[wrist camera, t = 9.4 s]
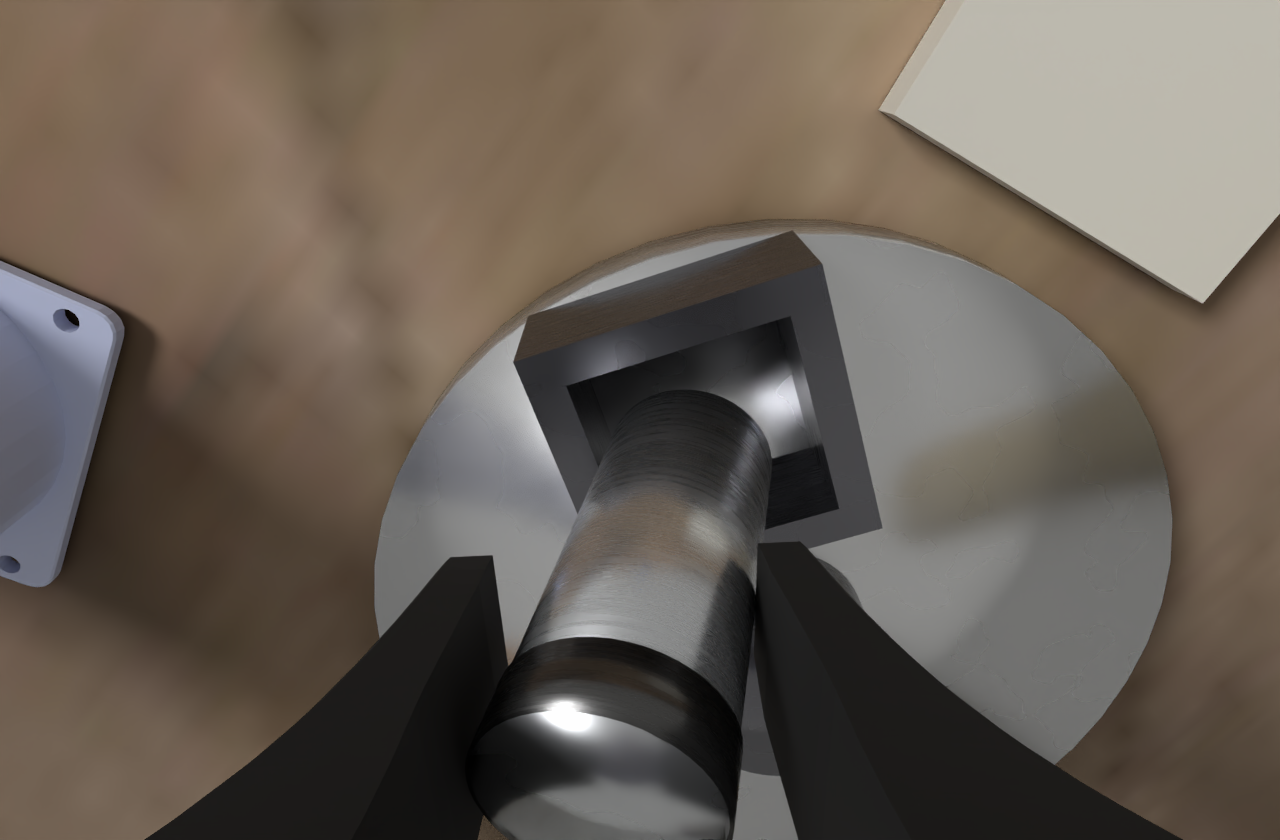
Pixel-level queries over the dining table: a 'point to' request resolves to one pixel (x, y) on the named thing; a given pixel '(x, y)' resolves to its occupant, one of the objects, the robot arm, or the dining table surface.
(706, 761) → the shiny metal cylinder
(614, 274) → the collar wheel
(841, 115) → the dining table surface
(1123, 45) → the rest
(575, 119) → the dining table surface
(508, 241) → the dining table surface
